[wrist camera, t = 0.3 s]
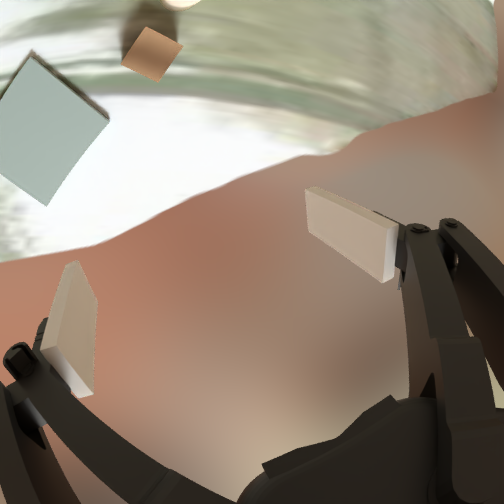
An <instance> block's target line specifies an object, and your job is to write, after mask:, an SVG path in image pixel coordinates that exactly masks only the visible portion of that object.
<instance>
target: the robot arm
mask: <svg viewBox="0 0 504 504" xmlns="http://www.w3.org/2000/svg"><path fill="white" fill-rule="evenodd" d="M305 197H306V208H307V220H308V231H309V232H310V233H312V234H313V235H314V236H316V237H317V238H319V239H320V240H322V241H323V242H325V243H326V244H328V245H329V246H330V247H332V248H333V249H335V250H336V251H338V252H339V253H340V254H342V255H343V256H345V257H346V258H348V259H349V260H350V261H352V262H353V263H355V264H356V265H358V266H359V267H360V268H362V269H363V270H364V271H366V272H367V273H369V274H370V275H371V276H373V277H374V278H376V279H377V280H378V281H380V282H381V283H384V282H386V281H388V280H390V279H391V278H393V277H394V270H395V266H396V267H397V268H399V269H400V277H399V284H398V290H400V287H401V290H402V298H403V305H404V314H405V322H406V334H407V346H408V361H409V362H408V363H409V397H408V398H405V399H401V400H397V401H396V400H395V399H394V398H393V397H392V396H391V395H389V396H387V397H386V398H385V399H383V400H382V401H380V402H379V403H377V404H376V405H374V406H373V407H371V408H369V409H368V410H366V411H364V412H363V413H362V414H361V415H360V416H359V417H358V418H357V419H356V420H355V421H354V422H353V423H352V424H351V425H350V426H349V427H348V428H347V429H346V430H345V431H344V432H343V433H342V434H341V435H340V436H338V437H337V438H335V439H332V440H328V441H325V442H321V443H317V444H313V445H309V446H306V447H301V448H297V449H295V450H292V451H290V452H288V453H286V454H284V455H282V456H279V457H277V458H274V459H272V460H270V461H267V462H265V463H262V466H263V469H264V472H263V473H261V474H260V475H259V476H257V477H256V478H255V479H254V480H253V481H252V482H250V483H249V485H248V486H247V487H246V488H245V489H244V491H243V492H242V493H241V495H240V497H239V499H238V500H237V502H233V501H231V500H229V499H227V498H225V497H223V496H221V495H219V494H216V493H214V492H212V491H210V490H208V489H206V488H205V487H203V486H201V485H199V484H197V483H195V482H193V481H191V480H190V479H188V478H186V477H184V476H183V475H181V474H179V473H177V472H176V471H174V470H172V469H168V468H166V467H164V466H163V465H161V464H160V463H158V462H156V461H155V460H154V459H152V458H151V457H149V456H148V455H146V454H145V453H143V452H141V451H140V450H139V449H137V448H136V447H135V446H133V445H132V444H131V443H129V442H128V441H126V440H125V439H124V438H122V437H121V436H120V435H118V434H117V433H116V432H115V431H113V430H112V429H111V428H110V427H108V426H107V425H106V424H105V423H104V422H102V421H101V420H100V419H99V418H98V417H96V416H95V415H94V414H93V413H92V412H91V411H89V410H88V409H87V408H86V407H85V406H84V405H83V404H81V402H79V401H78V400H77V399H76V398H75V397H74V396H73V395H72V394H71V390H72V391H73V393H74V394H75V395H76V396H77V397H78V398H81V397H85V396H89V395H93V394H94V351H95V333H96V319H97V306H98V301H97V299H96V297H95V295H94V293H93V291H92V289H91V287H90V285H89V283H88V281H87V278H86V276H85V274H84V272H83V270H82V268H81V266H80V263H79V261H78V260H77V261H74V262H71V263H69V264H66V266H65V269H64V271H63V274H62V277H61V280H60V283H59V285H58V289H57V292H56V294H55V298H54V301H53V304H52V307H51V310H50V314H49V317H47V318H44V319H43V321H42V322H41V324H40V325H39V327H38V330H37V336H36V338H35V342H34V344H33V348H32V350H31V349H30V347H29V346H28V345H27V344H26V343H25V342H19V343H17V344H15V345H13V346H12V347H11V348H10V349H9V350H8V351H7V352H6V354H5V356H4V358H3V365H4V366H5V368H6V369H7V370H8V371H9V372H10V374H11V375H12V376H13V377H14V379H15V380H16V381H15V382H13V383H12V384H10V385H8V386H7V387H5V386H4V385H3V383H2V382H1V381H0V485H1V488H2V491H3V494H4V497H5V499H6V502H7V504H81V503H80V501H79V500H78V498H77V496H76V494H75V493H74V491H73V490H72V488H71V486H70V484H69V482H68V481H67V479H66V477H65V475H64V473H63V471H62V469H61V467H60V465H59V463H58V461H57V459H56V457H55V455H54V453H53V451H52V448H51V446H50V444H49V442H48V439H47V437H46V435H45V432H44V430H43V428H42V426H44V425H45V424H47V423H48V425H49V426H50V427H51V428H52V429H53V431H54V432H55V433H56V434H57V435H58V437H59V438H60V439H61V440H62V441H63V442H64V443H65V445H66V446H67V447H68V448H69V449H70V450H71V451H72V452H73V453H74V454H75V455H76V456H77V457H78V458H79V459H80V460H81V461H82V462H83V463H84V464H85V465H86V466H87V467H88V468H89V469H90V470H91V471H92V472H93V473H94V474H95V475H96V476H97V477H98V478H99V479H100V480H101V481H103V482H104V483H105V484H106V485H107V486H108V487H109V488H110V489H112V490H113V491H114V492H115V493H116V494H117V495H119V496H120V497H121V498H122V499H124V500H125V501H126V502H127V503H129V504H504V408H495V402H494V397H493V390H492V386H491V380H490V376H489V371H488V367H487V363H486V359H487V361H488V363H489V365H490V367H491V369H492V371H493V373H494V375H495V377H496V379H497V381H498V383H499V385H500V386H501V388H502V389H503V391H504V265H503V264H502V263H501V262H500V260H499V259H498V258H497V257H496V256H495V255H494V254H493V253H492V252H491V251H490V250H489V249H488V248H487V247H486V246H485V245H484V244H483V243H482V242H481V241H480V240H479V239H478V238H477V237H476V236H475V235H474V234H473V233H472V232H470V230H468V229H467V228H466V227H465V226H464V225H463V224H462V223H460V222H459V221H457V220H455V219H453V218H448V219H447V218H445V219H442V220H440V224H439V229H436V230H431V229H430V228H429V227H427V226H425V225H422V224H416V223H414V224H409V225H407V226H405V225H403V224H401V223H399V222H397V221H394V220H392V219H389V218H388V217H386V216H383V215H382V214H380V213H378V212H375V211H370V210H368V209H366V208H364V207H362V206H360V205H357V204H355V203H353V202H351V201H349V200H347V199H344V198H342V197H340V196H337V195H335V194H333V193H331V192H328V191H326V190H323V189H321V188H319V187H316V186H314V187H311V188H307V189H305ZM457 259H458V264H457ZM465 321H466V323H467V324H468V326H469V328H470V329H471V331H472V333H473V335H474V337H470V336H469V333H468V330H467V326H466V323H465ZM485 357H486V359H485Z"/></svg>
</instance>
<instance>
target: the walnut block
mask: <svg viewBox="0 0 504 504" xmlns="http://www.w3.org/2000/svg"><path fill="white" fill-rule="evenodd" d="M182 48H183V46H182V45H180V44H179V43H177V42H175V41H173V40H171V39H169V38H168V37H166V36H164V35H162V34H160V33H158V32H156V31H154V30H152V29H150V28H148V27H145V28H144V30H143V31H142V32H141V34H140V35H139V37H138V38H137V40H136V41H135V42H134V44H133V45H132V47H131V48H130V50H129V51H128V53H127V55H126V56H125V58H124V59H123V61H122V62H121V65H123V66H125V67H127V68H129V69H131V70H133V71H136V72H138V73H140V74H142V75H144V76H146V77H148V78H150V79H152V80H154V81H156V82H159V81H160V79H161V78H162V76H163V75H164V73H165V72H166V70H167V69H168V67H169V66H170V64H171V63H172V61H173V60H174V59H175V57H176V56H177V54H178V53H179V52H180V50H181V49H182Z"/></svg>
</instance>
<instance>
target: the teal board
mask: <svg viewBox="0 0 504 504" xmlns="http://www.w3.org/2000/svg"><path fill="white" fill-rule="evenodd" d="M109 122H110V120H109V119H107V118H106V117H105V116H104V115H103V114H101V113H100V112H99V111H98V110H97V109H95V108H94V107H93V106H92V105H90V104H89V103H88V102H87V101H86V100H84V99H83V98H82V97H81V96H80V95H78V94H77V93H76V92H75V91H74V90H72V89H71V88H70V87H69V86H67V85H66V84H65V83H64V82H63V81H61V80H60V79H59V78H58V77H56V76H55V75H54V74H53V73H52V72H50V71H49V70H48V69H47V68H45V67H44V66H43V65H42V64H41V63H39V62H38V61H37V60H36V59H34V58H33V57H30V58H29V59H28V60H27V62H26V63H25V64H24V66H23V67H22V69H21V70H20V71H19V73H18V74H17V76H16V77H15V79H14V80H13V82H12V83H11V85H10V86H9V88H8V89H7V91H6V92H5V94H4V96H3V97H2V99H1V100H0V174H1V175H3V176H4V177H5V178H7V179H8V180H10V181H11V182H12V183H14V184H15V185H16V186H18V187H19V188H21V189H22V190H23V191H25V192H26V193H28V194H29V195H30V196H32V197H33V198H35V199H36V200H38V201H39V202H41V203H42V204H44V205H45V206H46V207H47V205H48V204H49V202H50V200H51V199H52V197H53V196H54V194H55V193H56V191H57V190H58V188H59V187H60V185H61V184H62V182H63V181H64V180H65V178H66V177H67V175H68V174H69V172H70V171H71V170H72V168H73V167H74V166H75V164H76V163H77V162H78V160H79V159H80V158H81V156H82V155H83V154H84V152H85V151H86V150H87V149H88V147H89V146H90V145H91V144H92V142H93V141H94V140H95V139H96V137H97V136H98V135H99V134H100V133H101V131H102V130H103V129H104V128H105V127H106V126H107V124H108V123H109Z"/></svg>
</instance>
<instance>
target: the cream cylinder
mask: <svg viewBox="0 0 504 504" xmlns="http://www.w3.org/2000/svg"><path fill="white" fill-rule="evenodd" d="M199 1H200V0H160V3H161V4H162V6H163V7H165V8H166V9H168V10H171V11H184V10H187V9H189V8H191V7H192V6H193V5H195V4H196V3H197V2H199Z"/></svg>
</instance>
